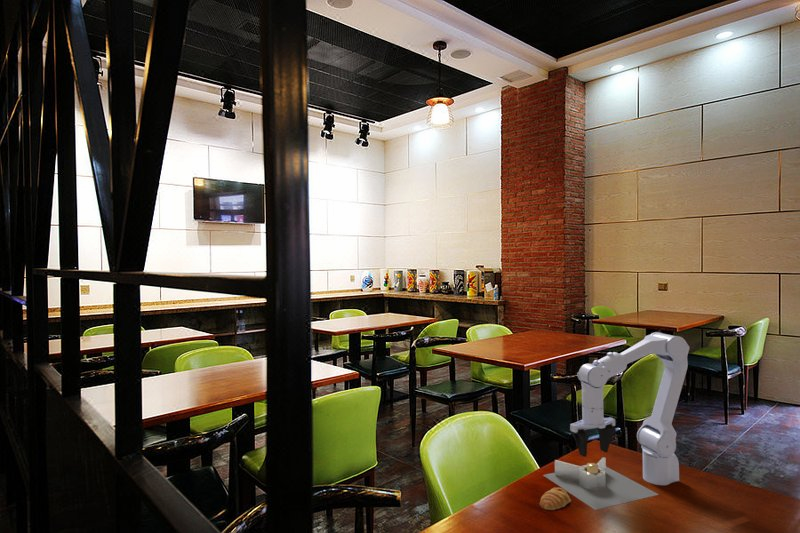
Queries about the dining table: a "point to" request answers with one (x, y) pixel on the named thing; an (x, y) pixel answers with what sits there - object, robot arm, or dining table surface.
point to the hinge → (583, 474)
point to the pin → (592, 468)
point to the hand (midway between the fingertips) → (593, 453)
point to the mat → (614, 493)
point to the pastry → (554, 499)
